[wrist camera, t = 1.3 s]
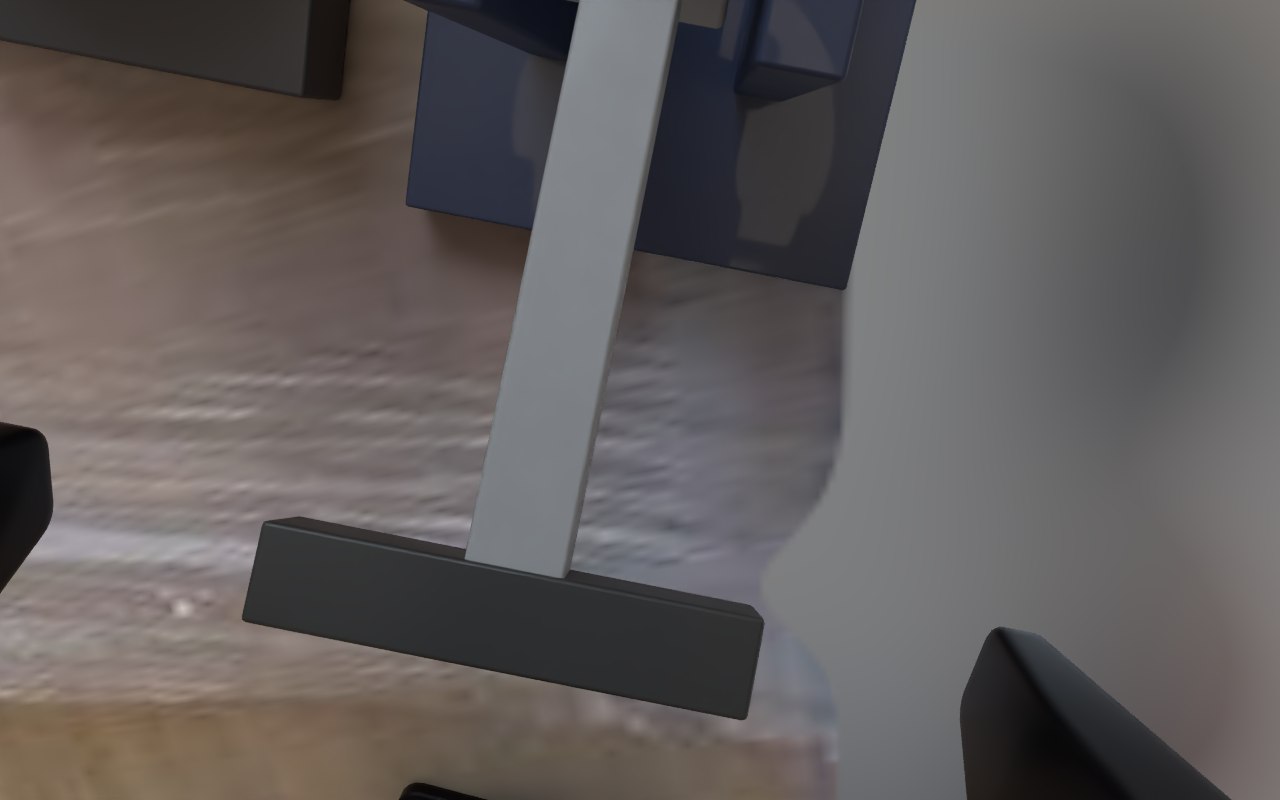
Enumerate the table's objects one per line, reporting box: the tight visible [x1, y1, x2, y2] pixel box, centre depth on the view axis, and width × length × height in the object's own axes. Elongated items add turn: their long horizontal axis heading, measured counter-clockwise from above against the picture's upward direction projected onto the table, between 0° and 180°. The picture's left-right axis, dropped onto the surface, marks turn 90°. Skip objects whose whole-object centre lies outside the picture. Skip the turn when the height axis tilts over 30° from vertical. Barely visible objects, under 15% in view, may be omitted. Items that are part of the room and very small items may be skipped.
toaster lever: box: [242, 0, 765, 720], centre depth 11 cm, size 11×6×2 cm, turn 170°
